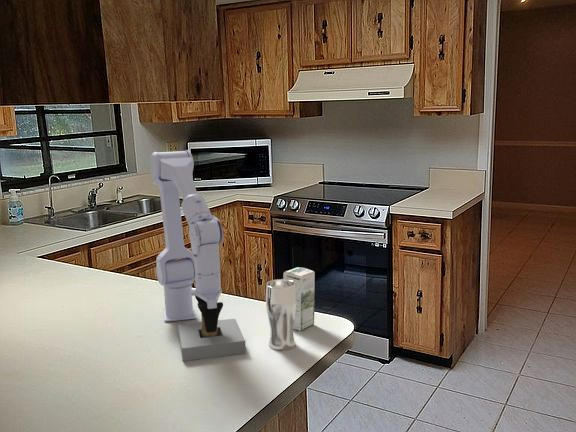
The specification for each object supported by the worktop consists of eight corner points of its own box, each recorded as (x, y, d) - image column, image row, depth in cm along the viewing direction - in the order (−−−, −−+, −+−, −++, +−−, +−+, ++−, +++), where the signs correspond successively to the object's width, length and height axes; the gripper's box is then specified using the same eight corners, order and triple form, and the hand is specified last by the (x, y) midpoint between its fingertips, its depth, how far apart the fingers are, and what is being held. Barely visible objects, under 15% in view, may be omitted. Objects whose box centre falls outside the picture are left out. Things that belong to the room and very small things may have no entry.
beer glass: (271, 353, 123) (269, 289, 121) (264, 340, 130) (262, 280, 127) (300, 349, 125) (299, 286, 122) (292, 337, 132) (291, 277, 129)
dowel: (201, 342, 130) (200, 310, 128) (217, 341, 131) (216, 309, 129) (202, 349, 126) (201, 316, 125) (218, 347, 127) (217, 315, 126)
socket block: (178, 336, 134) (178, 324, 133) (235, 329, 137) (235, 318, 136) (182, 361, 120) (181, 348, 120) (245, 353, 124) (245, 340, 123)
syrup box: (297, 319, 143) (296, 266, 140) (315, 324, 139) (314, 270, 136) (283, 326, 139) (282, 271, 136) (301, 332, 135) (300, 275, 132)
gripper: (187, 264, 131) (190, 318, 134) (192, 282, 117) (195, 342, 120) (216, 262, 133) (219, 315, 135) (225, 279, 119) (227, 338, 122)
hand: (210, 327), depth 128 cm, fingers open, 4 cm apart
